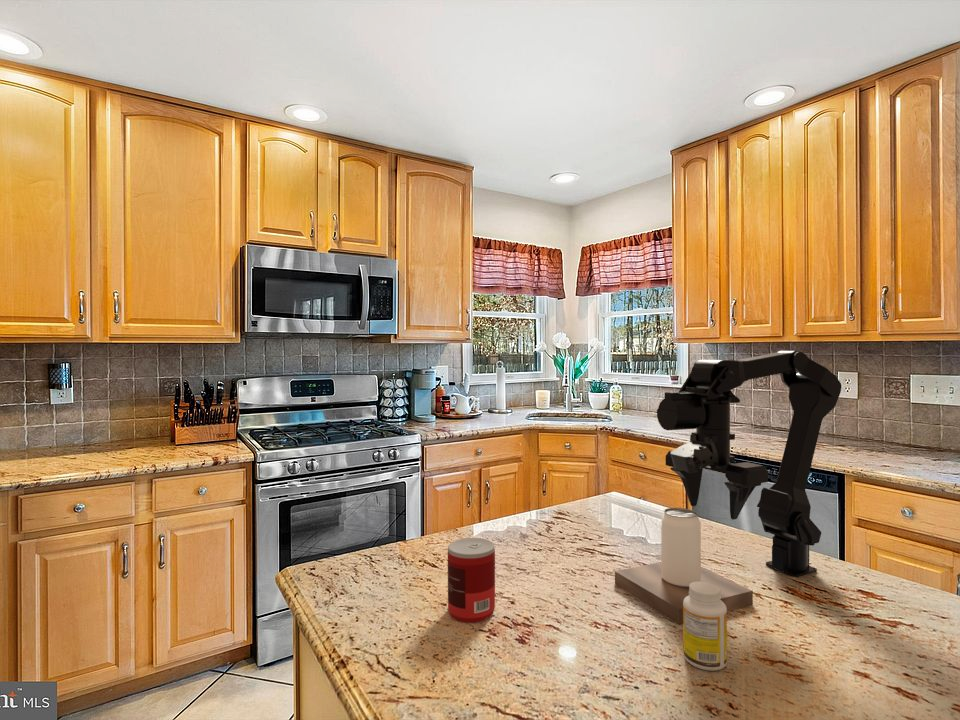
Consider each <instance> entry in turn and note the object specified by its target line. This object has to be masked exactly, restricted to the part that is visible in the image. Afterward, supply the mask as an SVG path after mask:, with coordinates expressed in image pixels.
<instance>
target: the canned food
mask: <svg viewBox="0 0 960 720" xmlns="http://www.w3.org/2000/svg"><path fill="white" fill-rule="evenodd" d="M495 609H496V549H495V543H494V542H492V541H491V540H489V539H486V538H482V537H465V538H460V539H457V540H453V541H452V542H450V543H449V544H448V546H447V610H448V613H449V616H450V617H451V618H452V619H453V620H455V621H457V622H461V623H466V624H472V623H473V624H475V623H480V622H484V621H487V620H488V619H490V618H491V617H492V616H493V614H494V611H495Z"/></svg>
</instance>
